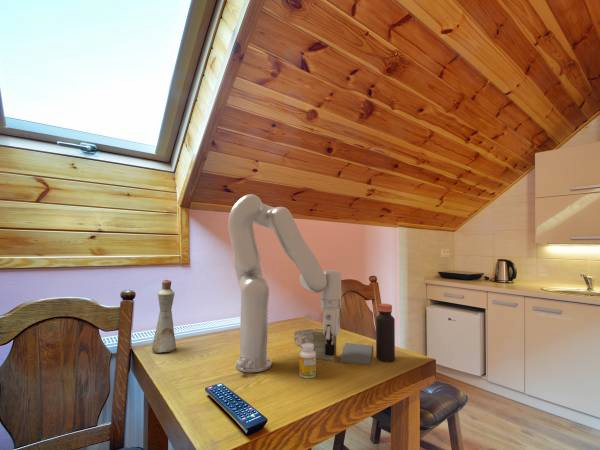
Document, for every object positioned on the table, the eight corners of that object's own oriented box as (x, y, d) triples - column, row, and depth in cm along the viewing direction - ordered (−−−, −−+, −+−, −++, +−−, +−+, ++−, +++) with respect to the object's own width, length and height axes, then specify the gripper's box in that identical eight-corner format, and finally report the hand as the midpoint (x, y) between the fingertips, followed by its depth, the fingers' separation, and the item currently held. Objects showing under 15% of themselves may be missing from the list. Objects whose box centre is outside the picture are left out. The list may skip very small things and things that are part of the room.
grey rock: (330, 352, 124) (324, 336, 144) (330, 340, 124) (324, 325, 144) (294, 353, 123) (294, 337, 143) (294, 341, 123) (293, 326, 143)
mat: (370, 365, 110) (370, 363, 110) (339, 361, 113) (339, 360, 113) (372, 346, 130) (372, 345, 130) (345, 344, 133) (345, 342, 133)
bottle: (151, 355, 117) (153, 281, 119) (152, 348, 126) (154, 278, 127) (176, 352, 121) (178, 280, 122) (175, 345, 129) (177, 277, 131)
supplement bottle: (299, 371, 105) (299, 342, 105) (315, 371, 105) (315, 342, 105) (299, 378, 99) (299, 347, 100) (316, 378, 99) (316, 347, 100)
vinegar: (378, 354, 121) (378, 302, 122) (396, 357, 118) (396, 304, 119) (374, 360, 115) (374, 305, 116) (393, 363, 112) (392, 307, 113)
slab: (334, 361, 114) (334, 333, 114) (313, 359, 116) (313, 331, 116) (336, 357, 118) (336, 330, 118) (315, 355, 120) (315, 328, 120)
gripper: (337, 308, 108) (337, 362, 107) (343, 299, 124) (343, 346, 123) (316, 307, 110) (316, 360, 109) (325, 298, 126) (324, 344, 125)
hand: (330, 352), depth 116 cm, fingers closed on slab, 4 cm apart
